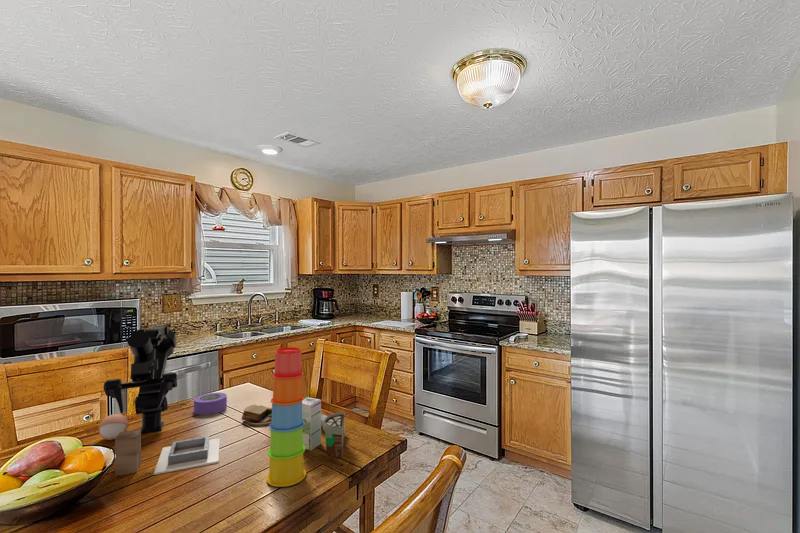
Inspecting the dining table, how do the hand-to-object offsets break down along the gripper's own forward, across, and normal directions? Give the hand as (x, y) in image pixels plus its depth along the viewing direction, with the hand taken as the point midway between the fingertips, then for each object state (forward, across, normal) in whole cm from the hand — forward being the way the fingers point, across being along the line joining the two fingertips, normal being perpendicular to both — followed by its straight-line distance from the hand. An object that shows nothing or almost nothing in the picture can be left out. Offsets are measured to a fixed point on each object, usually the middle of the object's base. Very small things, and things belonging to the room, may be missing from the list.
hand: (140, 410), depth 114 cm
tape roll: (-10, +20, +34) cm, 40 cm away
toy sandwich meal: (+3, +36, +18) cm, 41 cm away
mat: (+15, +13, +4) cm, 20 cm away
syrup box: (+22, +46, -3) cm, 51 cm away
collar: (+15, +13, +4) cm, 20 cm away
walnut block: (+15, -2, +4) cm, 16 cm away
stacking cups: (+32, +36, -15) cm, 51 cm away
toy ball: (-1, -9, +23) cm, 25 cm away
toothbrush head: (+14, +54, +6) cm, 56 cm away
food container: (+27, +52, -8) cm, 59 cm away
